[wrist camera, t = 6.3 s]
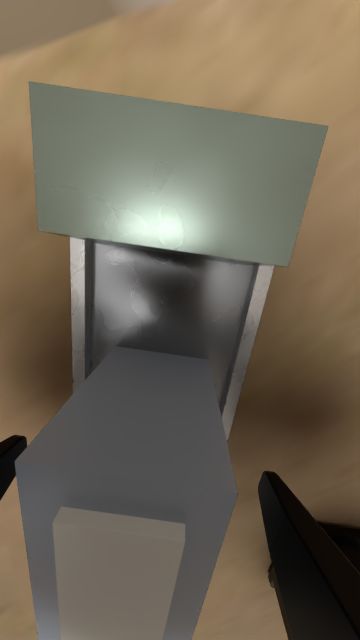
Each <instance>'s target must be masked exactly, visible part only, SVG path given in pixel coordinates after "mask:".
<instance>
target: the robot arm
mask: <svg viewBox="0 0 360 640" xmlns="http://www.w3.org/2000/svg"><path fill="white" fill-rule="evenodd" d="M26 448H27V439H26V437H25V436H19V435H13V436H11V437H9V438H7V439H5V440H4V441H2V442H0V500H1V499H2V497H3V495H4V494H5V492H6V491H7V489H8V487H9V486H10V484H11V482H12V481H13V479H14V478H15V476H16V470H15V462H14V461H15V460H16V459H17V458H18V457H19V456H20V455H21V453H22V452H23V451H24V450H25V449H26ZM258 494H259V500H260V505H261V510H262V516H263V521H264V527H265V532H266V537H267V543H268V547H269V552H270V556H271V560H272V564H273V566H272V568H271V570H270V573H269V575H268V578H269V582H270V585H271V587H272V588H275V591H276V595H277V599H278V602H279V606H280V610H281V614H282V617H283V621H284V625H285V628H286V632H287V636H288V640H360V531H357V530H350V529H342V528H335V527H328V526H321V525H319V524H318V523H317V522H316V520H315V519H314V518H313V517H312V515H311V514H310V513H309V512H308V511H307V509H306V508H305V507H304V506H303V505H302V503H301V502H300V501H299V500H298V499H297V497H296V496H295V495H294V494H293V493H292V491H291V490H290V489H289V488H288V487H287V485H286V484H285V483H284V482H283V481H282V479H281V478H280V477H279V476H278V475H277V474H276V473H275V472H271V471H264V472H263V474H262V477H261V480H260V482H259V485H258Z"/></svg>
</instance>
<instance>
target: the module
mask: <svg viewBox="0 0 360 640" xmlns="http://www.w3.org/2000/svg"><path fill="white" fill-rule="evenodd" d="M14 462H15V470H16V477H17V485H18V492H19V499H20V507H21V514H22V522H23V529H24V536H25V544H26V551H27V559H28V566H29V573H30V581H31V588H32V596H33V603H34V610H35V618H36V625H37V633H38V640H192V637H193V634H194V630H195V627H196V624H197V621H198V618H199V615H200V612H201V608H202V605H203V602H204V599H205V596H206V593H207V590H208V586H209V583H210V580H211V577H212V574H213V571H214V568H215V564H216V561H217V558H218V555H219V552H220V549H221V546H222V542H223V539H224V536H225V533H226V530H227V527H228V524H229V520H230V517H231V514H232V511H233V508H234V505H235V502H236V498H237V495H238V490H237V486H236V481H235V477H234V472H233V468H232V463H231V458H230V454H229V449H228V445H227V440H226V436H225V431H224V427H223V422H222V417H221V413H220V408H219V404H218V399H217V395H216V390H215V386H214V381H213V377H212V372H211V367H210V363H209V360H208V359H201V358H194V357H187V356H180V355H173V354H166V353H159V352H152V351H145V350H138V349H132V348H125V347H118V346H115V347H114V348H113V349H112V350H111V351H110V352H109V354H108V355H107V356H106V357H105V358H104V359H103V360H102V362H101V363H100V364H99V365H98V366H97V367H96V368H95V370H94V371H93V372H92V373H91V374H90V375H89V376H88V378H87V379H86V380H85V381H84V382H83V383H82V385H81V386H80V387H79V388H78V389H77V390H76V391H75V393H74V394H73V395H72V396H71V397H70V398H69V399H68V401H67V402H66V403H65V404H64V405H63V406H62V408H61V409H60V410H59V411H58V412H57V413H56V414H55V416H54V417H53V418H52V419H51V420H50V421H49V422H48V424H47V425H46V426H45V427H44V428H43V429H42V430H41V432H40V433H39V434H38V435H37V436H36V437H35V439H34V440H33V441H32V442H31V443H30V444H29V445H28V447H27V448H26V449H25V450H24V451H23V452H22V453H21V455H20V456H19V457H18V458H17V459H16V460H15V461H14Z"/></svg>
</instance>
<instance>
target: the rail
mask: <svg viewBox="0 0 360 640" xmlns="http://www.w3.org/2000/svg"><path fill="white" fill-rule="evenodd" d="M29 94H30V110H31V126H32V142H33V158H34V174H35V190H36V206H37V222H38V231H43V232H48V233H52V234H57V235H62V236H66V237H70V264H71V315H72V367H73V394H74V393H75V391H76V390H77V389H78V388H79V387H80V386H81V385H82V383H83V382H84V381H85V380H86V379H87V378H88V376H89V375H90V374H91V373H92V372H93V371H94V370H95V368H96V367H97V366H98V365H99V364H100V363H101V362H102V360H103V359H104V358H105V357H106V356H107V355H108V354H109V352H110V351H111V350H112V349H113V348H114V347H115V346H118V347H125V348H132V349H138V350H145V351H152V352H159V353H166V354H173V355H180V356H187V357H194V358H201V359H208V360H209V363H210V367H211V372H212V377H213V381H214V386H215V390H216V395H217V399H218V404H219V408H220V413H221V417H222V422H223V427H224V431H225V436H226V440H227V442H228V438H229V434H230V430H231V427H232V423H233V419H234V415H235V412H236V408H237V404H238V400H239V397H240V393H241V389H242V385H243V382H244V378H245V374H246V370H247V367H248V363H249V359H250V355H251V352H252V348H253V344H254V340H255V337H256V333H257V329H258V325H259V322H260V318H261V314H262V311H263V307H264V303H265V299H266V296H267V292H268V288H269V284H270V281H271V277H272V273H273V269H274V266H280V267H288V266H289V262H290V259H291V255H292V252H293V248H294V245H295V241H296V238H297V234H298V231H299V227H300V224H301V220H302V217H303V213H304V210H305V206H306V203H307V199H308V196H309V192H310V189H311V185H312V182H313V179H314V175H315V172H316V168H317V165H318V161H319V158H320V154H321V151H322V147H323V144H324V140H325V137H326V133H327V130H328V126H325V125H318V124H312V123H305V122H298V121H292V120H285V119H278V118H271V117H265V116H258V115H251V114H244V113H238V112H231V111H224V110H218V109H211V108H204V107H197V106H191V105H184V104H177V103H170V102H164V101H157V100H150V99H143V98H137V97H130V96H123V95H117V94H110V93H103V92H96V91H90V90H83V89H76V88H69V87H63V86H56V85H49V84H43V83H36V82H29Z"/></svg>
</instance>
